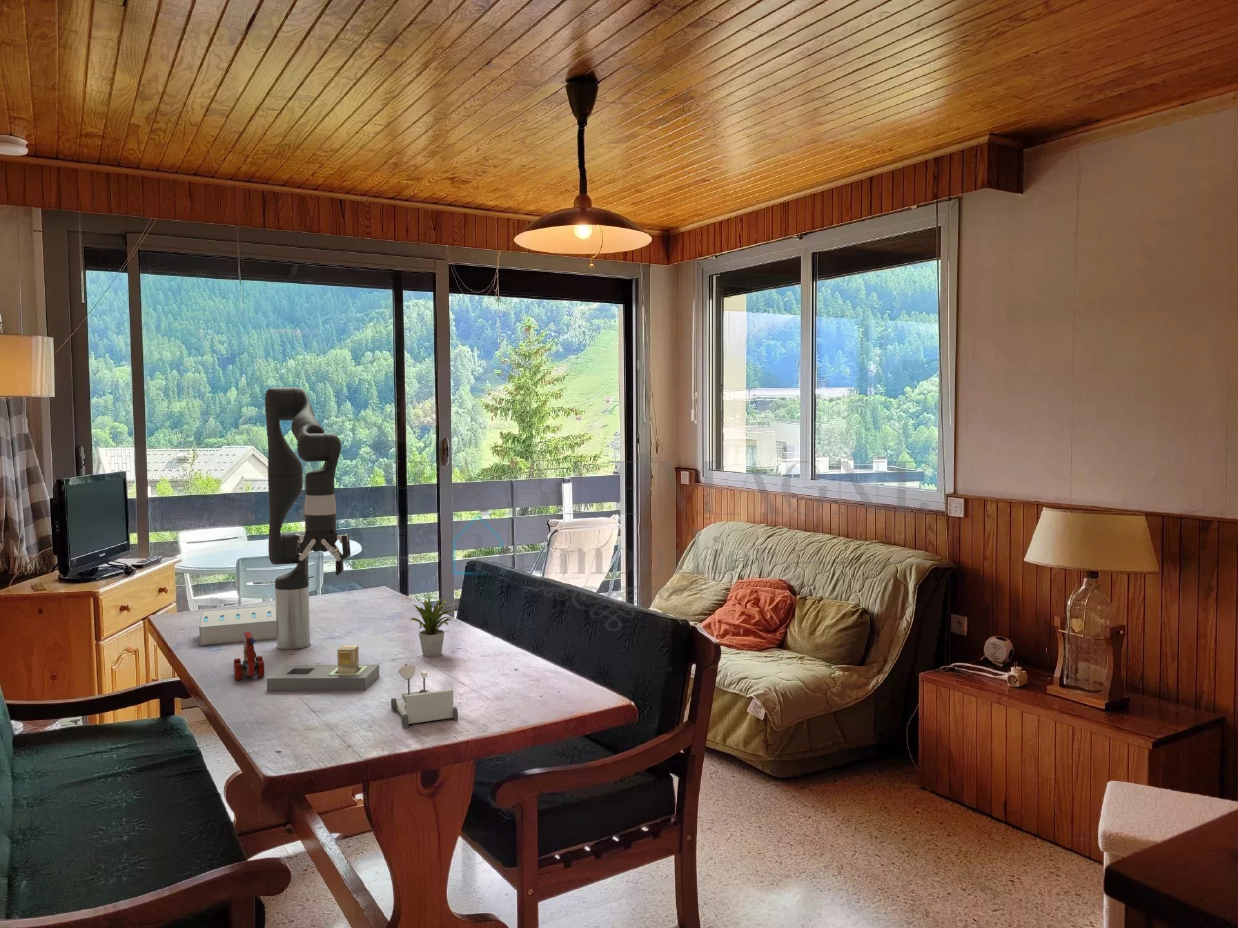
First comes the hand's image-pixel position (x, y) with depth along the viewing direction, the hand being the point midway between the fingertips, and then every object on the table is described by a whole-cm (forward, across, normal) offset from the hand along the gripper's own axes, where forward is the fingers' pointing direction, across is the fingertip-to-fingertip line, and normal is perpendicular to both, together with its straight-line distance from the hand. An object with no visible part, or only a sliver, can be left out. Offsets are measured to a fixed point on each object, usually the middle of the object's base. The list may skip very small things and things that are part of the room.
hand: (321, 574), depth 230 cm
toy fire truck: (+27, +19, +1) cm, 33 cm away
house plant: (+26, -24, -17) cm, 40 cm away
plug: (+26, -9, +8) cm, 28 cm away
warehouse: (+29, +35, -43) cm, 63 cm away
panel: (+26, -3, +8) cm, 27 cm away
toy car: (+25, -32, +31) cm, 52 cm away
